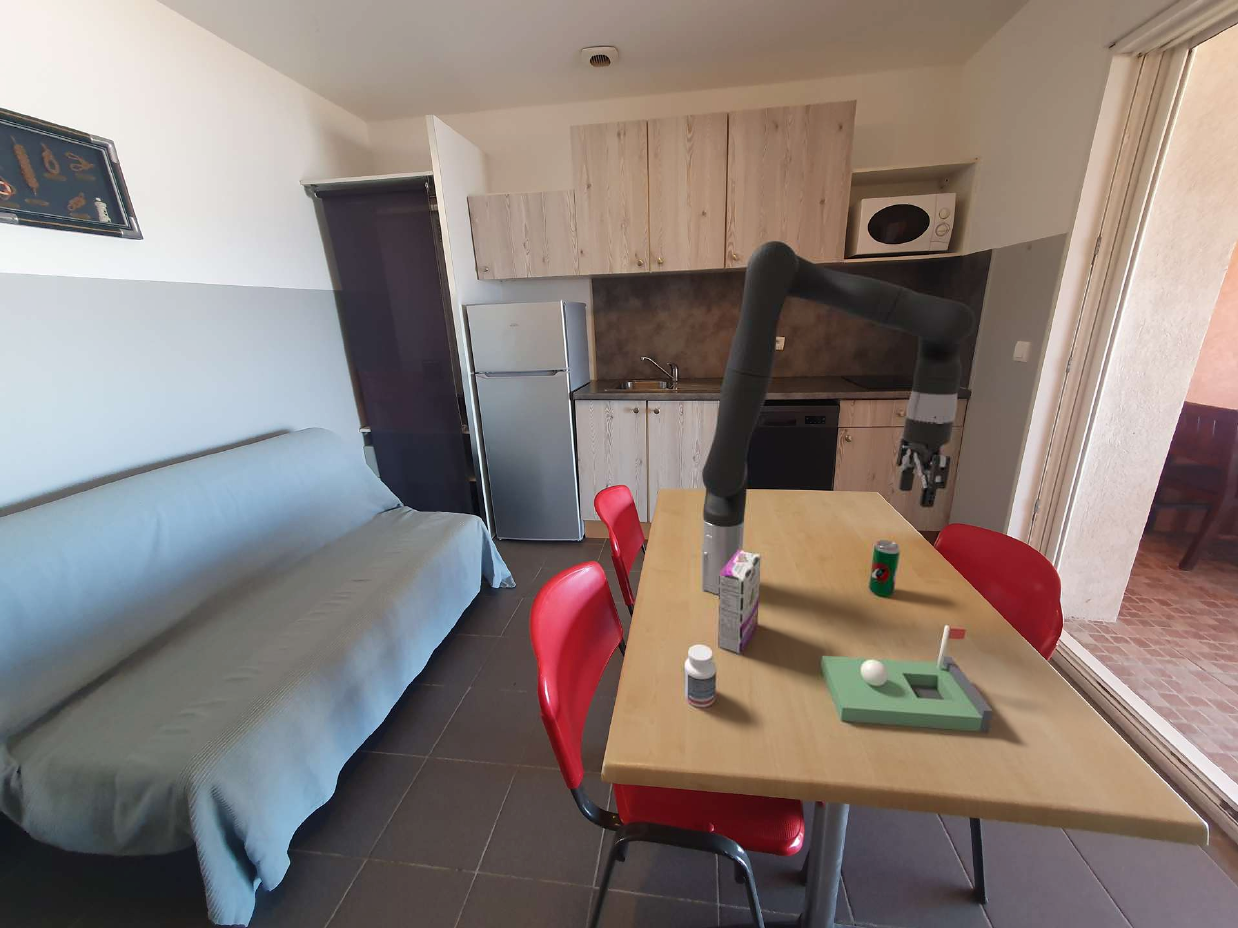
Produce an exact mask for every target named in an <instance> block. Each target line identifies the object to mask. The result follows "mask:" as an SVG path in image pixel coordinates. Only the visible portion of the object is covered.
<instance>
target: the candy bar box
mask: <svg viewBox="0 0 1238 928" xmlns="http://www.w3.org/2000/svg"><path fill="white" fill-rule="evenodd" d="M761 556H762V554H760V553H755V552H751V551H746V550H744V549H743V550H738V551H737V552H736V553H735V555H734V556H733V557H732V559H731V560H730V561H729V562H728V564H727V565H726V566H725V568H724V569H723V570H722V571H721V573H720V574H719V594H718V631H717V632H718V640H717V641H718V642H717V644H718V645H717V646H718V648H721V649H723V650H726V651H729V652H733V653H735V654H737V655H742V654H743V652H744V650H745V648H746V646H747V644H748V643H749V640H750V638H751V637H752V635H753V633H754V631H755V629H756V628H757V626H758V622H759V621H758V620H759V603H760V601H759V598H760V577H761V558H762V557H761Z"/></svg>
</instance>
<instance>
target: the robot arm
mask: <svg viewBox="0 0 1238 928" xmlns="http://www.w3.org/2000/svg"><path fill="white" fill-rule="evenodd" d="M742 296H743V297H742V304H741V309H740V316H739V320H738V323H737V324H738V325H737V327H736V330H735V333H734V337H733V340H732V345H731V348H730V351H729V355H728V358H727V362H726V366H725V371H724V375H723V376H724V377H723V380H722V385H721V392H720V396H719V403H718V408H717V409H718V410H717V419H716V426H715V433H714V436H713V439H712V443H711V447H710V449H709V451H708V454H707V457H706V460H705V464H704V466H703V469H702V472H701V473H702V474H701V475H702V483H703V486H704V487H705V497H704V503H703V511H702V512H703V516H702V517H703V519H702V543H701V544H702V545H701V590H702V591H708V592H710V593H713V594H716V595H719V574H720V573H721V571H722V570H723V569H724V568H725V566H726V565H727V564H728V562H729V561H730V560H731V559H732V557H733V556H734V555H735V553H736V552H737V551H738V550H744V533H745V529H744V528H745V512H746V503H747V490H748V489H747V488H748V464H747V457H748V451H749V446H750V445H749V444H750V441H751V438H752V435H753V432H754V429H755V427H756V425H757V422H758V420H759V418H760V415H761V412H762V410H763V406H764V404H765V401H766V398H767V395H768V391H769V388H770V383H771V380H772V376H773V370H774V363H775V357H776V349H777V347H776V346H777V334H778V327H779V321H780V318H781V313H782V311H783V308H784V306H785V305H784V304H785V302H786V298H787V297H789V298H796V299H801V300H805V301H810V302H814V303H817V304H820V305H823V306H826V307H828V308H831V309H834V310H835V311H838V312H841V313H844V314H847V315H849V316H851V317H854V318H857V319H860V320H862V321H866V322H868V323H872V324H875V325H878V326H881V327H885V328H887V329H888V328H889V329H894V330H899V331H902V332H905V333H908V334H910V335H913V336H916V337H918V347H917V362H916V368H915V372H914V377H913V384H912V389H911V393H910V396H909V399H908V404H907V409H906V416H905V421H904V426H903V433H902V438H900V442H899V449H898V452H897V458H896V462H895V464H896V467H899V472H900V477H899V478H900V479H899V485H898V490H900V491H901V492H911V491H913V484H914V480H915V478H914V477H915V472H916V471H917V475H918V476H919V477H920V478H921V484H922V488H921V493H920V498H919V502H918V503H919V504H918V505H919V506H921V507H922V508H933V507H934V505H935V499H936V496H937V490H939V489H940V490H945V489H946V488H947V486H948V485H947V484H948V479H949V474H950V473H949V471H950V466H951V459H952V458H951V456H950V455H941V447H942V446H944V445H948V444H949V443H950V441H951V437H952V433H953V428H954V421H955V419H956V412H957V406H958V393H959V387H960V382H961V377H962V370H963V369H962V367H963V366H962V363H961V358H960V357H961V356H960V355H961V351H962V346H963V341H964V340H965V339H967V338H968V337H969V336H970V335H971V334H972V333H973V331H974V329H975V326H976V317H975V313H974V312H973V310H972V309H971V308H970V307H969V306H968V305H966V304H964V303H962V302H959V301H955V300H951V299H947V298H942V297H939V296H935V295H929V294H924V293H919V292H917V291H914V290H911V289H909V288H907V287H904V286H900V285H897V284H894V283H890V282H887V281H884V280H880V279H877V278H876V279H875V278H872V277H868V276H864V275H859V274H858V275H857V274H851V273H847V272H841V271H836V270H834V269H830V268H826V267H823V266H821V265H818V264H815V263H814V262H811V261H809V260H807V259H805V258H804V257H801V256H800V255H797V254H796V253H795V251H794V250H793V249H792V247H790V246H789V245H788V244H786V243H785V242H783V241H779V240H773V241H768V242H765V243H763V244H761V245H760V246H758V247H757V248H756V249H755V250H754V252H753V253H752V254H751V255H750V257H749V259H748V262H747V265H746V270H745V279H744V290H743V295H742Z"/></svg>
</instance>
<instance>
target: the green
mask: <svg viewBox="0 0 1238 928" xmlns="http://www.w3.org/2000/svg"><path fill="white" fill-rule="evenodd" d="M966 631H967V628H966V627H952V626H950V625H947V624H946V625H944V629H943V635H942V640H941V643H940V644H941V645H940V650H939V655H938V659H937V662H933V661H932V662H928V661H915V660H914V661H913V660H898V659H884V658H883V659H882V658H881V659H880V658H867V657H866V658H864V657H863V658H862V657H847V656H833V655H832V656H829V655H822V656H821V663H820V669H821V672H822V674H823V677H824V681H825V682H826V685H827V687H828V690H829V693H830V695H831V698H832V700H833V703H834V706H835V708H836V712H837V714H838V716H839V719H840V722H841V721H842V722H855V723H865V724H877V725H891V726H893V725H894V726H905V727H906V726H907V727H919V728H929V729H940V730H941V729H942V730H943V729H944V730H957V731H969V732H979V733H989V728H990V726H991V720H992V716H993V713H994V711H993V709H992V708H991V707H990V705H989V704H988V703H987V701H986V700H985V699H984V698H983V696H982V695H981V693H979V691H978V690H977V688H976V687H975V686H974V685H973V683H972V682H971V680H970V679H968V677H967V675H966V674H965V673H964V672H963V670H962V669H961V668H960V667H959V665H958V664H957V663H956V662H955V660H954V659H953V658H952V656H946V651H947V650H946V649H947V644H948V640H950V639H951V640H952V639H953V640H965V636H966ZM867 660H877V661H879V662H881V663H882V664H883V665H884V666H885V668H886V669H887V672H888V678H887V681H886V682H885V683H884V684H883V685H880V686H873V685H870V684H869V683H867V682H866V681H865V680H864V679H863V677H862V675H861V666H862V664H863V663H864V662H865V661H867Z"/></svg>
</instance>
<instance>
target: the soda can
mask: <svg viewBox="0 0 1238 928" xmlns="http://www.w3.org/2000/svg"><path fill="white" fill-rule="evenodd" d="M872 554H873V555H872V560H871V568H870V575H869V583H868V588H869V590H870V592H871V593H873V594H874V595H876V596H878V597H879V596H880V597H886V598H887V597H890V596H892V595H893V594H894V592H895V586H896V580H897V574H898V573H897V572H898V568H899V561H900V560H899V559H900V554H901V549H900V547H899V545H898V543H897V542H894V541H890V540H878V541H876V544H875V545H874V546H873V553H872Z"/></svg>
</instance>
